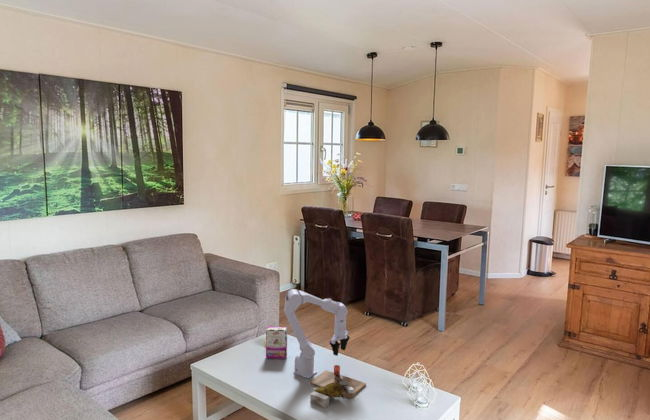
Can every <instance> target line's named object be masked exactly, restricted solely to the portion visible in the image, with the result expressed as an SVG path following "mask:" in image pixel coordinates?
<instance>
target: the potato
mask: <svg viewBox="0 0 650 420" xmlns="http://www.w3.org/2000/svg"><path fill="white" fill-rule="evenodd" d="M314 391H315V392H318V393H320V394H323V395H326V396H329V399H333V398H340V397H341V394H342V392H343V386H342V385H341V384H340V383H337V382H334V383H330V384H328V385H326V386H322V387H319V388H318V387H315V389H314Z"/></svg>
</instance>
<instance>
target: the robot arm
mask: <svg viewBox="0 0 650 420" xmlns="http://www.w3.org/2000/svg"><path fill="white" fill-rule="evenodd" d="M284 297H285V298H284V299H285V300H284V301H285V302H284V306H283V312H284V315H285V317H286V319H287V321H288V323H289V325H290V327H291V330H292V331H293V334H294V336H295V338H296V340H297V342H298V345H299V350H300V353H298V354H296V356H295V357H294V368H293V369H294V370H293V374H295V375H298V376H301V377H304V378H306V379H310V378H311V377H312V376H314V375H315V374H317V373H318V371H317V370H316V369H314V368H315V367H314V366H315V355H316V351H315V349H314V348H313V345H312V343H311V341H310V340H309V339H308V338H307V337H306V334H305V332H304V330H303V328H302V325H301V324H300V321H299V319H298V317H297V315H296V313H295V312H296V310H297V309H298V307H299V306H300V305H304V304H306V303H309V304H310V303H311V304H312V305H316V306H320V307H321V309H322V310H323V311H326V312H330V313H332V314H334V332H333V333H334V334H333V336H332V338H331V339H330V341H329V345H330V347H331V348H332V349H331V350H332V354H333V355H334V356H339V349H341V351H345V350H346V348H347V344H348V342H349V340H350V338H351V337H350V336H349V332H350V331H348V330H347V315H348V313H349V311H348V308H347V307H346V305H345V304H344V303H343V302H339V301H335V300H332V298H330V297H329V298H324V299H322V298H320V297H317V296H315V295H313V294H310V293H307V292H306V291H303V290H299V289H296V288H291V289H289V290H288V291H287V293H286V295H285V296H284ZM338 341H340V343H339V342H338Z"/></svg>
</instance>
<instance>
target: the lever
mask: <svg viewBox="0 0 650 420" xmlns="http://www.w3.org/2000/svg"><path fill="white" fill-rule="evenodd" d="M333 373H334V375H335V378H336V379H337V381H338V382H339V383H340V384H341V385H342V386H343V388H344V389H345V390H346V392H347V394H353V393H354V389H353V388H352V387H350V386H349V381H348V380H346V379H343V378H342V377H341V376H340V375H341V366H340V365H339V364H335V365H333Z"/></svg>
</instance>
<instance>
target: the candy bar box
mask: <svg viewBox="0 0 650 420" xmlns="http://www.w3.org/2000/svg"><path fill="white" fill-rule="evenodd" d="M265 351H266V352H265V359H273V360H274V359H275V360H276V359H277V360H280V359H281V360H286V359H287V356H288V327H285V326H267V327H266V330H265Z"/></svg>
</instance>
